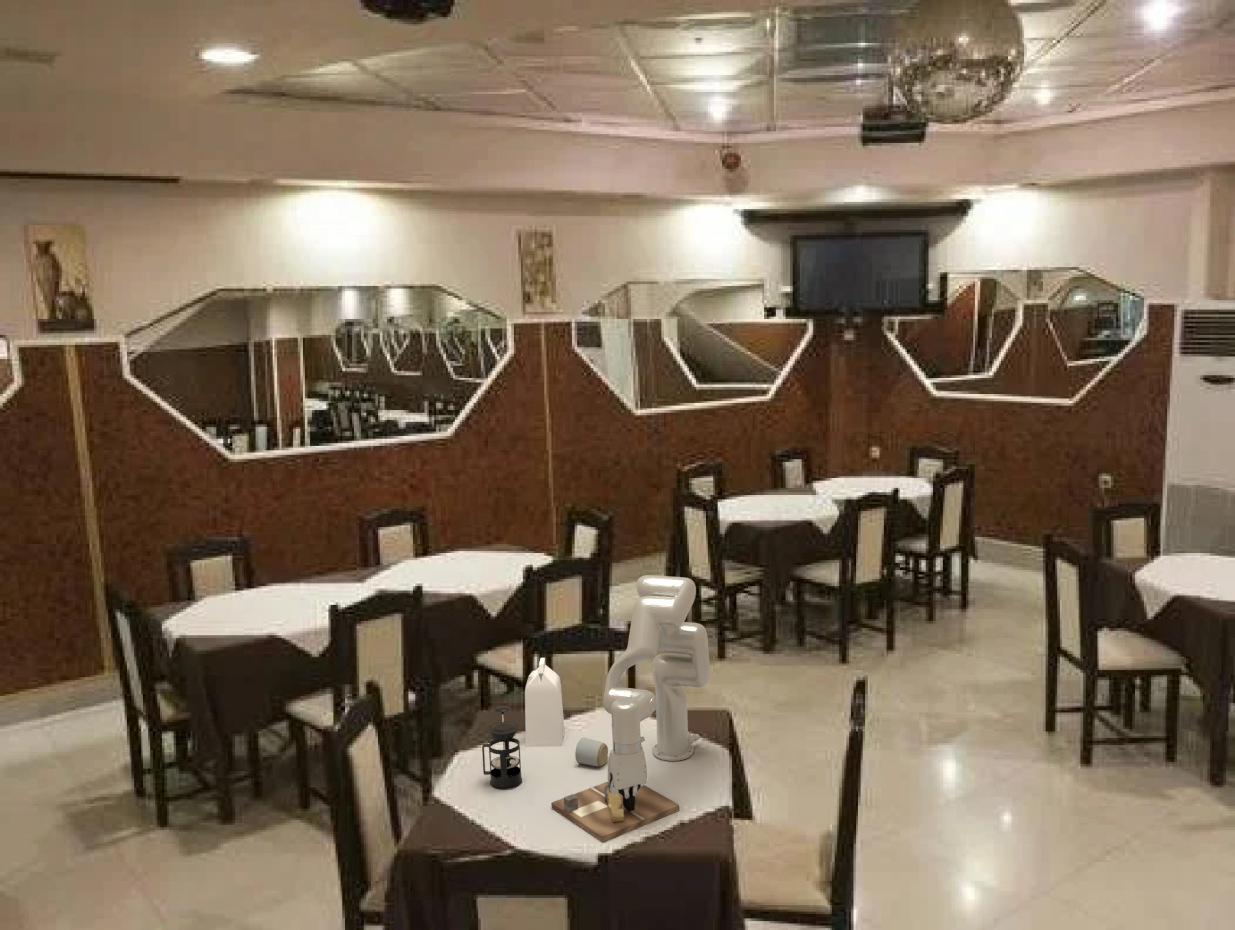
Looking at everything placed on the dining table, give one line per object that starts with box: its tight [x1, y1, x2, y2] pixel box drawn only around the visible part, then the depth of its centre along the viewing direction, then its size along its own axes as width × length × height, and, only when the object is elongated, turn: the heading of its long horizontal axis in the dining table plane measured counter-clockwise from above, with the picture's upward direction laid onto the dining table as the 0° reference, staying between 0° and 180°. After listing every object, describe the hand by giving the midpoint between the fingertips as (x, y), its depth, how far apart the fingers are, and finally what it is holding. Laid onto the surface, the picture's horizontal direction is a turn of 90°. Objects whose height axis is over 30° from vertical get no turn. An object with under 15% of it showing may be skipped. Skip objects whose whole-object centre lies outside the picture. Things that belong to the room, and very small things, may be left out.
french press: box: [481, 705, 523, 791], centre depth 296 cm, size 12×9×23 cm
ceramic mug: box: [574, 737, 609, 767], centre depth 309 cm, size 11×8×8 cm
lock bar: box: [604, 785, 624, 822], centre depth 276 cm, size 14×4×4 cm, turn 8°
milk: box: [524, 657, 566, 748], centre depth 326 cm, size 12×12×26 cm
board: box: [550, 781, 680, 843], centre depth 280 cm, size 26×24×5 cm
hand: (629, 808), depth 275 cm, fingers closed
